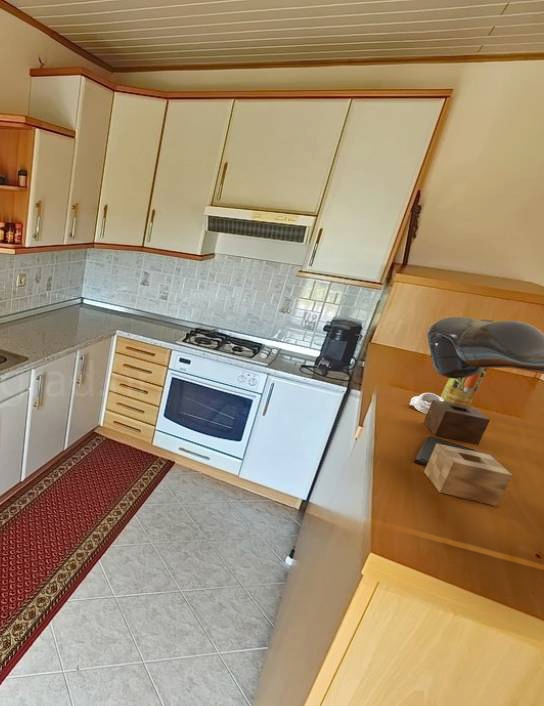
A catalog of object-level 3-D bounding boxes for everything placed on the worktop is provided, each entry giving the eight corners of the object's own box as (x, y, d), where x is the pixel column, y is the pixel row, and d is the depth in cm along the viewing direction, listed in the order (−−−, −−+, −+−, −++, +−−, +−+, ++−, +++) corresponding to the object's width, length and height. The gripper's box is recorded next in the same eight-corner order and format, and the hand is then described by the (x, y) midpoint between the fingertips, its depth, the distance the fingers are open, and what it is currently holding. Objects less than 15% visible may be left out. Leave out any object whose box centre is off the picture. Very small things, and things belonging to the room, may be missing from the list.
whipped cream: (444, 416, 125) (453, 398, 123) (446, 420, 120) (455, 402, 118) (407, 404, 129) (416, 387, 128) (407, 408, 124) (416, 390, 122)
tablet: (427, 438, 107) (428, 434, 106) (492, 459, 100) (494, 455, 99) (413, 462, 94) (415, 458, 94) (487, 487, 87) (489, 483, 87)
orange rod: (470, 391, 108) (499, 325, 103) (473, 393, 106) (504, 326, 101) (460, 389, 108) (489, 323, 104) (463, 391, 107) (493, 325, 102)
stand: (475, 484, 88) (490, 454, 86) (496, 506, 81) (512, 475, 79) (423, 471, 91) (436, 443, 89) (439, 492, 84) (453, 461, 81)
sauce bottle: (441, 408, 127) (472, 335, 121) (434, 401, 133) (463, 330, 126) (471, 415, 125) (505, 340, 118) (463, 407, 130) (495, 335, 124)
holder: (463, 431, 113) (474, 407, 111) (478, 444, 106) (490, 419, 104) (423, 422, 116) (432, 399, 114) (435, 435, 109) (445, 410, 107)
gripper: (427, 348, 101) (449, 341, 111) (515, 369, 91) (530, 359, 101) (441, 313, 98) (463, 309, 109) (534, 330, 88) (547, 324, 99)
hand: (495, 333), depth 105 cm, fingers closed on orange rod, 2 cm apart
